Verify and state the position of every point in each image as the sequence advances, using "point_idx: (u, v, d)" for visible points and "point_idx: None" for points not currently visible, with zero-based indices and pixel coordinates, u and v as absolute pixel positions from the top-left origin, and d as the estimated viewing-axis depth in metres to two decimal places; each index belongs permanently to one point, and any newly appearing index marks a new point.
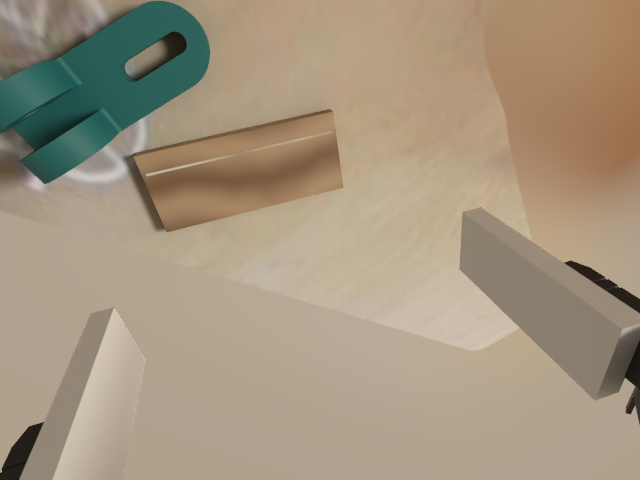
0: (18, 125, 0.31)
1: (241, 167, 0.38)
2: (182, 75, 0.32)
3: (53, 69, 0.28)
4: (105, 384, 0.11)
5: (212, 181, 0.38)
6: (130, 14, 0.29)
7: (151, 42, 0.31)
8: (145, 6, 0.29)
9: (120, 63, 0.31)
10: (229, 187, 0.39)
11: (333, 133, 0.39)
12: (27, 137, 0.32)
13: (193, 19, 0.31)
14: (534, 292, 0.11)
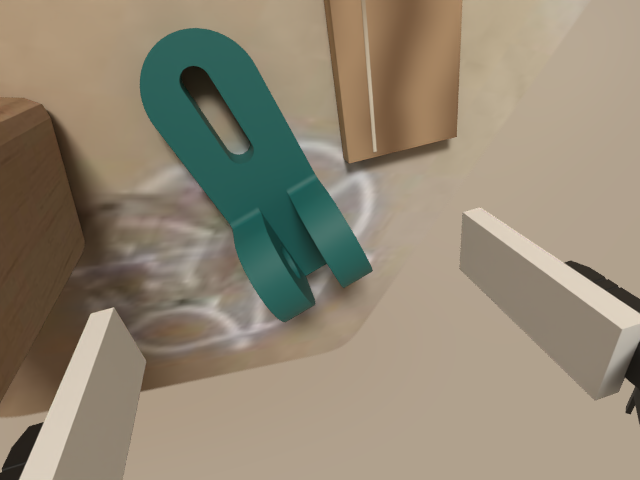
0: (303, 270, 0.29)
1: None
2: (240, 79, 0.21)
3: (243, 238, 0.24)
4: (105, 384, 0.11)
5: (400, 54, 0.24)
6: (167, 139, 0.22)
7: (199, 118, 0.22)
8: (152, 118, 0.21)
9: (231, 161, 0.23)
10: (415, 25, 0.23)
11: None
12: (316, 265, 0.29)
13: (156, 48, 0.19)
14: (534, 292, 0.11)
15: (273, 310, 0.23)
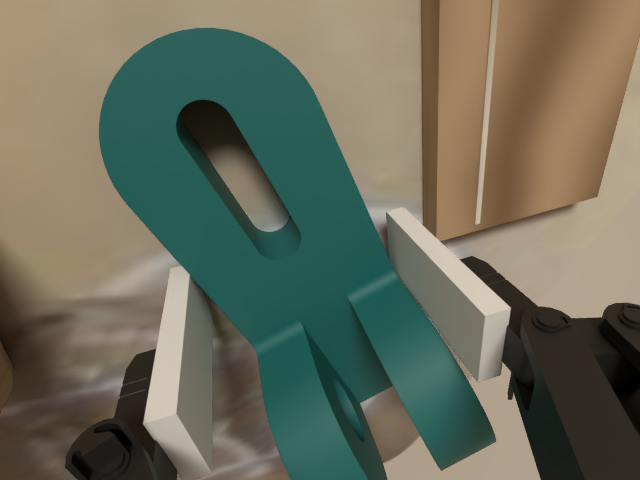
0: (357, 397, 0.19)
1: None
2: (289, 124, 0.12)
3: (278, 386, 0.14)
4: (194, 323, 0.12)
5: (540, 74, 0.14)
6: (152, 226, 0.12)
7: (211, 190, 0.12)
8: (124, 192, 0.11)
9: (262, 257, 0.14)
10: (572, 24, 0.13)
11: None
12: (376, 389, 0.19)
13: (131, 65, 0.10)
14: (434, 285, 0.12)
15: None
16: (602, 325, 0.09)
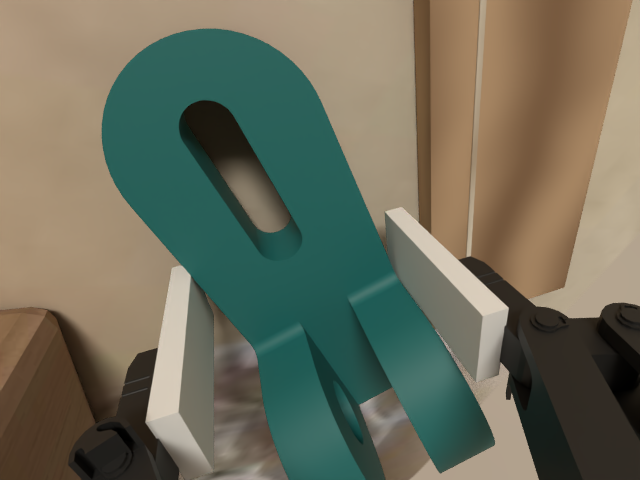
0: (356, 399, 0.19)
1: (504, 151, 0.16)
2: (292, 125, 0.12)
3: (277, 387, 0.14)
4: (195, 322, 0.12)
5: (511, 212, 0.18)
6: (153, 226, 0.12)
7: (213, 190, 0.12)
8: (126, 192, 0.11)
9: (263, 258, 0.14)
10: (534, 179, 0.17)
11: None
12: (376, 391, 0.19)
13: (135, 65, 0.10)
14: (432, 285, 0.12)
15: None
16: (599, 325, 0.09)
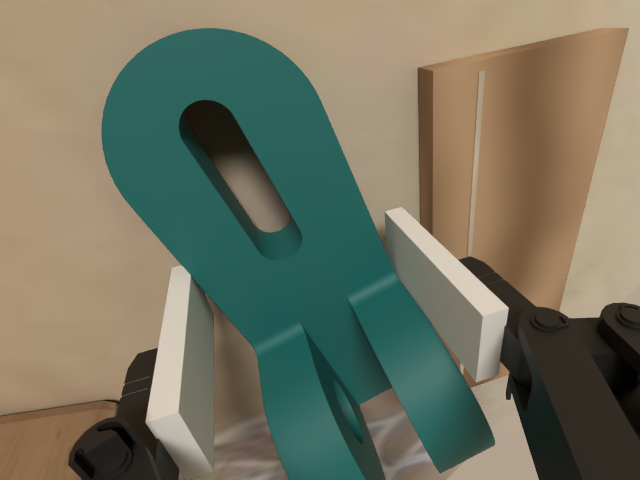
0: (356, 398, 0.19)
1: None
2: (292, 125, 0.12)
3: (277, 387, 0.14)
4: (195, 322, 0.12)
5: None
6: (153, 226, 0.12)
7: (213, 190, 0.12)
8: (126, 192, 0.11)
9: (263, 258, 0.14)
10: (518, 286, 0.21)
11: (486, 66, 0.14)
12: (375, 391, 0.19)
13: (135, 65, 0.10)
14: (432, 285, 0.12)
15: None
16: (599, 325, 0.09)
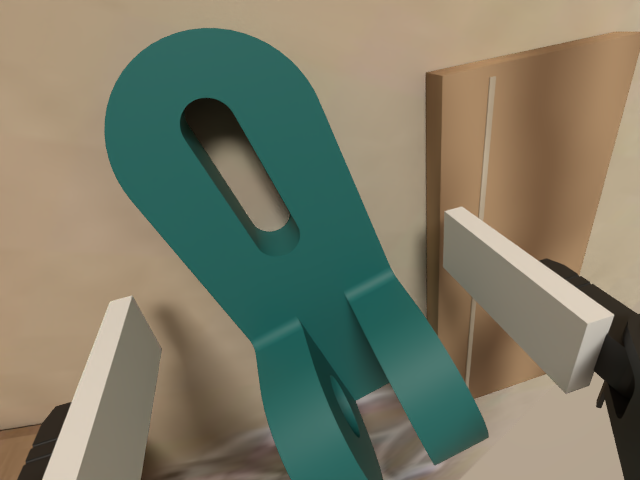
0: (353, 394, 0.19)
1: None
2: (290, 123, 0.12)
3: (275, 381, 0.14)
4: (126, 367, 0.11)
5: None
6: (154, 221, 0.12)
7: (213, 186, 0.12)
8: (128, 187, 0.12)
9: (261, 253, 0.14)
10: None
11: (497, 71, 0.14)
12: (372, 387, 0.19)
13: (138, 63, 0.10)
14: (510, 289, 0.11)
15: None
16: None
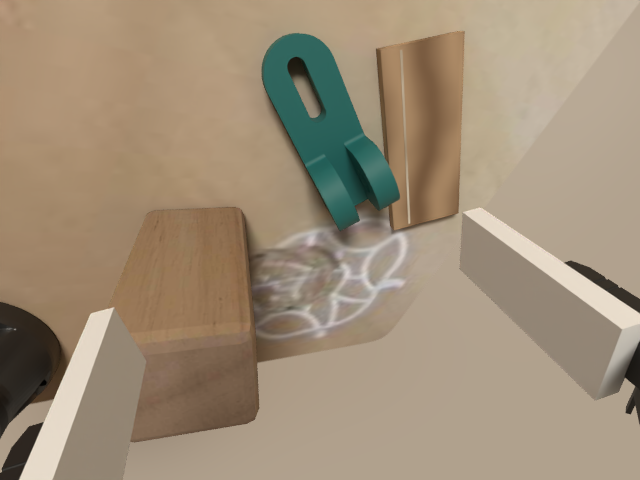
0: None
1: (418, 148, 0.40)
2: (323, 66, 0.34)
3: (316, 171, 0.36)
4: (105, 384, 0.11)
5: (425, 174, 0.42)
6: (274, 103, 0.34)
7: (295, 90, 0.34)
8: (268, 89, 0.33)
9: (311, 120, 0.36)
10: (433, 160, 0.42)
11: (403, 47, 0.35)
12: (358, 201, 0.41)
13: (277, 45, 0.32)
14: (534, 292, 0.11)
15: (335, 217, 0.35)
16: None
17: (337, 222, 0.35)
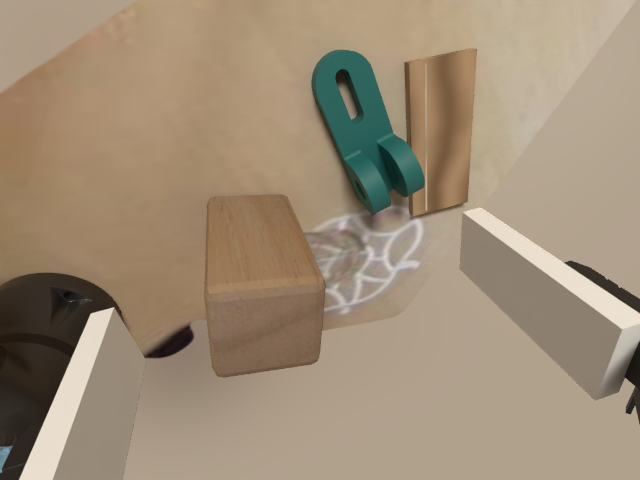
0: None
1: (436, 145, 0.48)
2: (364, 77, 0.41)
3: (355, 164, 0.43)
4: (105, 384, 0.11)
5: (441, 167, 0.50)
6: (323, 106, 0.41)
7: (340, 96, 0.41)
8: (318, 95, 0.40)
9: (351, 121, 0.43)
10: (448, 155, 0.49)
11: (427, 61, 0.42)
12: None
13: (328, 59, 0.39)
14: (534, 292, 0.11)
15: (372, 201, 0.42)
16: None
17: (373, 206, 0.43)
